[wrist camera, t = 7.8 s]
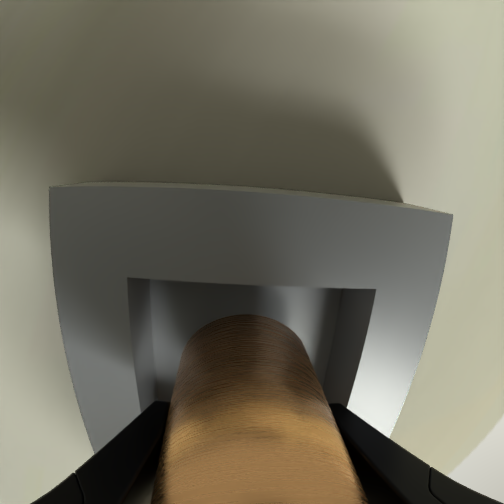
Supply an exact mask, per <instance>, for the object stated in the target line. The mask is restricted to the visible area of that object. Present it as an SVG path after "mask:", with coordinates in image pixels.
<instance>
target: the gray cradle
mask: <svg viewBox="0 0 504 504" xmlns="http://www.w3.org/2000/svg"><path fill="white" fill-rule="evenodd" d="M49 214H50V239H51V255H52V267H53V277H54V286H55V294H56V301H57V308H58V315H59V321H60V327H61V332H62V338H63V343H64V348H65V353H66V357H67V362H68V366H69V371H70V375H71V379H72V383H73V387H74V391H75V394H76V398H77V401H78V405H79V408H80V412H81V415H82V418H83V421H84V425H85V428H86V431H87V434H88V437H89V440H90V442H91V445H92V448H93V451H94V453H97V452H98V451H99V450H100V449H101V448H102V447H103V446H105V445H106V444H107V443H108V442H109V441H110V440H111V439H113V438H114V437H115V436H116V435H117V434H118V433H119V432H120V431H122V430H123V429H124V428H125V427H126V426H127V425H128V424H129V423H130V422H132V421H133V420H134V419H135V418H136V417H137V416H138V415H139V414H140V413H142V412H143V411H144V410H145V409H146V408H147V407H148V406H149V405H150V404H151V403H152V402H154V401H155V400H162V401H169V402H171V398H172V394H173V389H174V385H175V381H176V376H177V372H178V368H179V363H180V359H181V355H182V352H183V350H184V347H185V346H186V344H187V342H188V341H189V340H190V338H191V337H192V336H193V335H194V334H195V333H196V332H197V331H198V330H199V329H201V328H202V327H204V326H205V325H207V324H209V323H211V322H212V321H215V320H217V319H220V318H223V317H227V316H231V315H239V314H252V315H260V316H264V317H268V318H271V319H274V320H276V321H278V322H281V323H283V324H284V325H286V326H287V327H289V328H290V329H291V330H292V331H293V332H294V333H296V335H297V336H298V337H299V338H300V340H301V341H302V343H303V345H304V347H305V349H306V351H307V354H308V356H309V359H310V361H311V363H312V366H313V368H314V371H315V373H316V375H317V378H318V380H319V383H320V385H321V387H322V390H323V392H324V395H325V397H326V399H327V402H328V404H329V403H341V404H342V405H344V406H345V407H346V408H348V409H349V410H350V411H352V412H353V413H354V414H356V415H357V416H359V417H360V418H361V419H363V420H364V421H365V422H367V423H368V424H370V425H371V426H372V427H374V428H375V429H377V430H378V431H379V432H381V433H382V434H384V435H385V436H387V437H388V438H389V437H390V434H391V432H392V430H393V428H394V425H395V423H396V421H397V419H398V416H399V414H400V411H401V409H402V407H403V404H404V402H405V399H406V397H407V394H408V391H409V389H410V386H411V383H412V381H413V378H414V375H415V372H416V369H417V367H418V364H419V361H420V358H421V355H422V352H423V348H424V345H425V342H426V339H427V335H428V332H429V328H430V325H431V321H432V318H433V314H434V310H435V306H436V302H437V298H438V294H439V290H440V286H441V281H442V277H443V272H444V267H445V262H446V257H447V251H448V246H449V240H450V234H451V227H452V220H453V214H449V213H445V212H440V211H436V210H432V209H428V208H424V207H419V206H415V205H411V204H406V203H400V202H393V201H386V200H378V199H370V198H362V197H354V196H345V195H336V194H327V193H317V192H307V191H296V190H284V189H272V188H259V187H245V186H229V185H211V184H189V183H159V182H86V183H77V184H69V185H60V186H53V187H49Z"/></svg>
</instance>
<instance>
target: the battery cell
mask: <svg viewBox="0 0 504 504" xmlns="http://www.w3.org/2000/svg"><path fill="white" fill-rule="evenodd" d="M150 504H369V503H368V500H367V498H366V495H365V493H364V490H363V488H362V485H361V483H360V480H359V478H358V475H357V473H356V470H355V468H354V465H353V463H352V460H351V458H350V455H349V453H348V451H347V448H346V446H345V443H344V441H343V438H342V436H341V433H340V431H339V429H338V426H337V424H336V421H335V419H334V416H333V414H332V412H331V409H330V407H329V404H328V402H327V399H326V397H325V395H324V392H323V390H322V387H321V385H320V383H319V380H318V378H317V375H316V373H315V371H314V368H313V366H312V363H311V361H310V359H309V356H308V354H307V351H306V349H305V347H304V345H303V343H302V341H301V340H300V338H299V337H298V336H297V335H296V333H294V332H293V331H292V330H291V329H290V328H289V327H287V326H286V325H284V324H283V323H281V322H278V321H276V320H274V319H271V318H268V317H264V316H260V315H252V314H239V315H231V316H227V317H223V318H220V319H217V320H215V321H212V322H211V323H209V324H207V325H205V326H204V327H202V328H201V329H199V330H198V331H197V332H196V333H195V334H194V335H193V336H192V337H191V338H190V340H189V341H188V342H187V344H186V346H185V347H184V350H183V352H182V355H181V359H180V363H179V368H178V372H177V376H176V381H175V385H174V389H173V394H172V398H171V403H170V408H169V412H168V417H167V421H166V426H165V431H164V436H163V441H162V445H161V450H160V455H159V460H158V466H157V471H156V476H155V481H154V487H153V492H152V498H151V503H150Z"/></svg>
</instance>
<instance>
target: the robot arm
mask: <svg viewBox="0 0 504 504" xmlns="http://www.w3.org/2000/svg"><path fill="white" fill-rule="evenodd" d="M170 403H171V402H169V401H162V400H155V401H154V402H152V403H151V404H150V405H149V406H148V407H147V408H146V409H145V410H144V411H143V412H142V413H140V414H139V415H138V416H137V417H136V418H135V419H134V420H133V421H132V422H130V423H129V424H128V425H127V426H126V427H125V428H124V429H123V430H122V431H120V432H119V433H118V434H117V435H116V436H115V437H114V438H113V439H111V440H110V441H109V442H108V443H107V444H106V445H105V446H103V447H102V448H101V449H100V450H99V451H98V452H97V453H95V454H94V455H93V456H92V457H91V458H90V459H89V460H87V461H86V462H85V463H84V464H83V465H82V466H80V467H79V468H78V469H77V470H76V471H75V473H76V474H75V473H72V474H71V475H70V476H68V477H67V478H66V479H65V480H64V481H62V482H61V483H60V484H59V485H57V486H56V487H55V488H53V489H52V490H51V491H49V492H48V493H46V494H45V495H43V496H42V497H40V498H39V499H37V500H36V501H34V502H32V503H31V504H150V503H151V498H152V492H153V487H154V481H155V476H156V471H157V466H158V460H159V455H160V450H161V445H162V441H163V436H164V431H165V426H166V421H167V417H168V412H169V408H170ZM329 407H330V409H331V412H332V414H333V416H334V419H335V421H336V424H337V426H338V429H339V431H340V433H341V436H342V438H343V441H344V443H345V446H346V448H347V451H348V453H349V455H350V458H351V460H352V463H353V465H354V468H355V470H356V473H357V475H358V478H359V480H360V483H361V485H362V488H363V490H364V493H365V495H366V498H367V500H368V503H369V504H503V503H501V502H499V501H496V500H494V499H491V498H489V497H487V496H485V495H482V494H480V493H478V492H476V491H473V490H471V489H469V488H467V487H465V486H463V485H461V484H459V483H457V482H455V481H454V480H452V479H451V478H449V477H447V476H445V475H444V474H442V473H440V472H439V471H437V470H436V469H434V468H433V467H430V466H429V465H428V464H426V463H425V462H423V461H422V460H420V459H419V458H417V457H416V456H414V455H413V454H411V453H410V452H408V451H407V450H405V449H404V448H402V447H401V446H400V445H398V444H397V443H395V442H394V441H392V440H391V439H389V438H388V437H387V436H385V435H384V434H382V433H381V432H379V431H378V430H377V429H375V428H374V427H372V426H371V425H370V424H368V423H367V422H365V421H364V420H363V419H361V418H360V417H359V416H357V415H356V414H354V413H353V412H352V411H350V410H349V409H348V408H346V407H345V406H344V405H342V404H341V403H329Z"/></svg>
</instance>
